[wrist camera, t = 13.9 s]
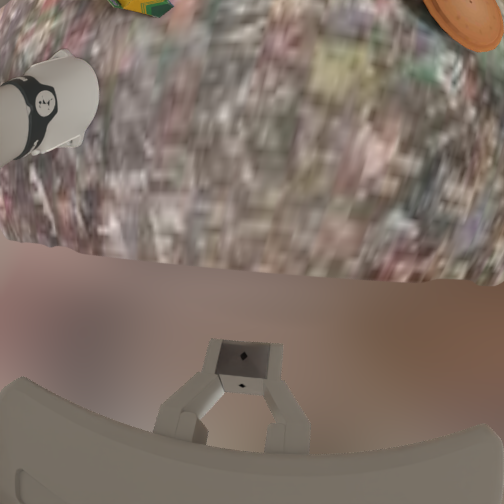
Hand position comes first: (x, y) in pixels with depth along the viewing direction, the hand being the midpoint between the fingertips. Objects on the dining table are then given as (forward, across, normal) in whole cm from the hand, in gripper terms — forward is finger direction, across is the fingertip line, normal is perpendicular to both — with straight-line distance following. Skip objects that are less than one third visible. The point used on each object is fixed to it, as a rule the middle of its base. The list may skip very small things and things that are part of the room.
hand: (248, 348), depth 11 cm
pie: (+32, -26, -26) cm, 48 cm away
